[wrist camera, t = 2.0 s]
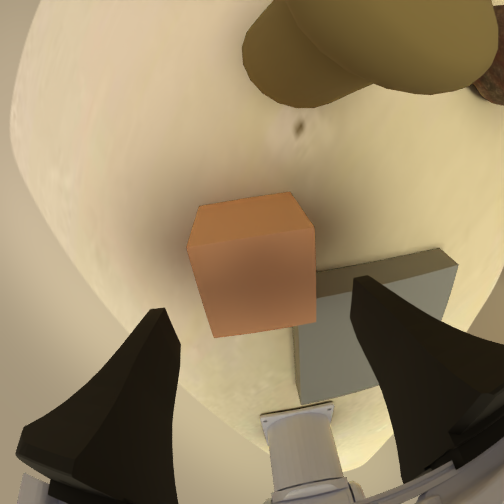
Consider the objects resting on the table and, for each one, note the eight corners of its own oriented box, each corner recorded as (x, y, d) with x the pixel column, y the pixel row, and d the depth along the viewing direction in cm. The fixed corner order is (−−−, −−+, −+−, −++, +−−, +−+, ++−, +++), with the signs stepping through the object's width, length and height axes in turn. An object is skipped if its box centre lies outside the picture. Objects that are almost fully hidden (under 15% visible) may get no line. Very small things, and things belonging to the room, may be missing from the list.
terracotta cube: (295, 268, 17) (316, 322, 13) (217, 280, 17) (214, 337, 13) (289, 191, 15) (314, 227, 11) (199, 205, 15) (186, 247, 11)
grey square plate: (407, 349, 24) (420, 370, 21) (294, 379, 24) (300, 405, 21) (435, 244, 18) (458, 264, 15) (287, 273, 18) (297, 302, 15)
